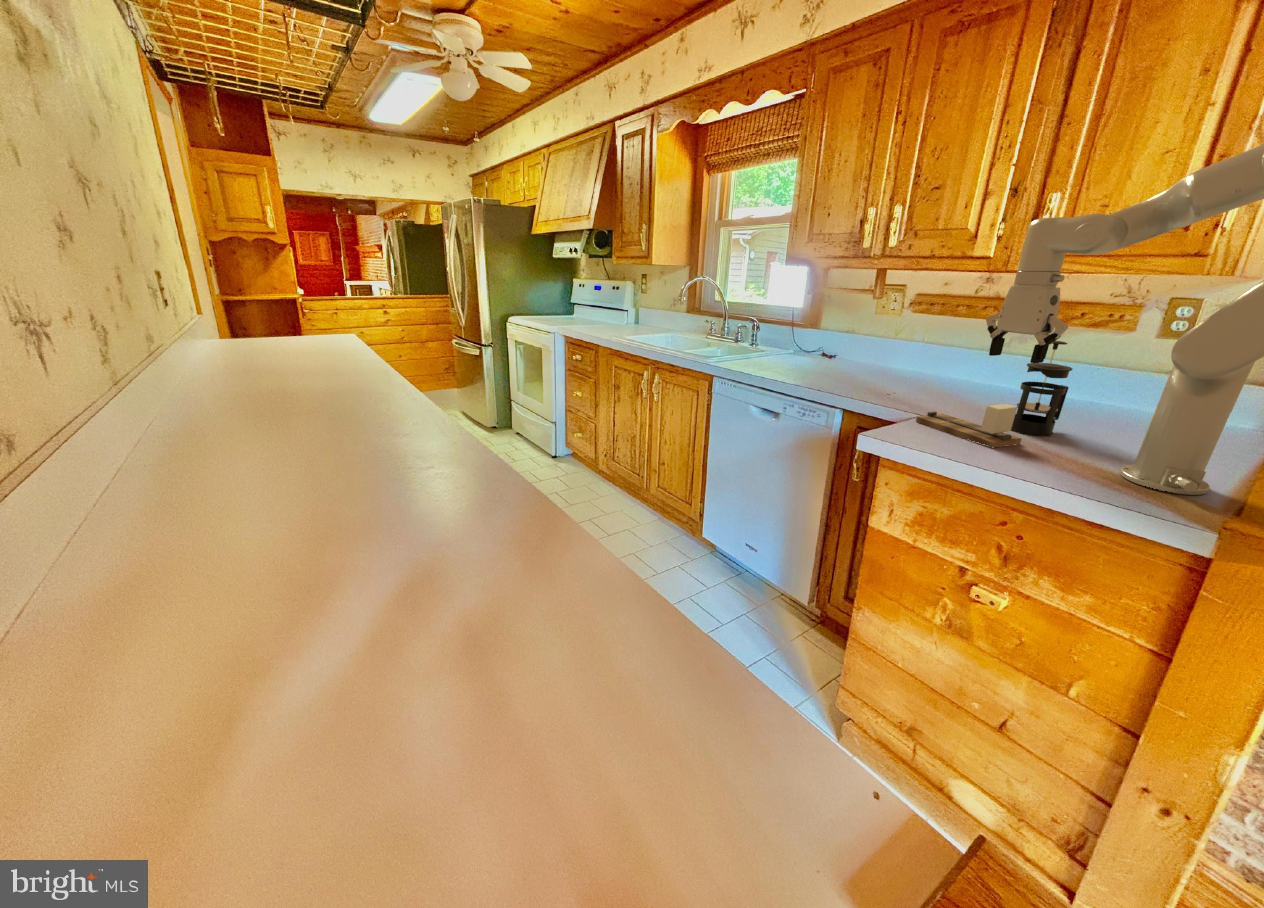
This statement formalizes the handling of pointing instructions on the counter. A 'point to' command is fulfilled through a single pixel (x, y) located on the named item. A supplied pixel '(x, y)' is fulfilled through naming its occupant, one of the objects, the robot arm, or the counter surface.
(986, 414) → the fader cap
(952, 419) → the fader board
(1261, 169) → the robot arm
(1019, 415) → the french press
